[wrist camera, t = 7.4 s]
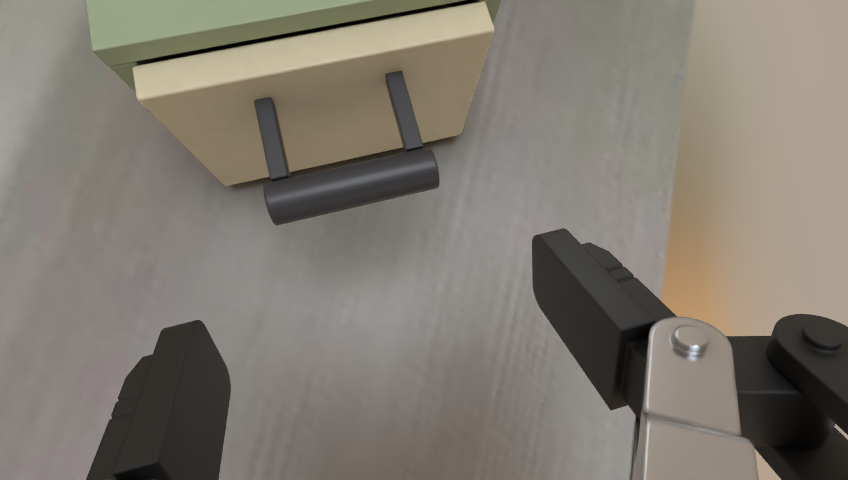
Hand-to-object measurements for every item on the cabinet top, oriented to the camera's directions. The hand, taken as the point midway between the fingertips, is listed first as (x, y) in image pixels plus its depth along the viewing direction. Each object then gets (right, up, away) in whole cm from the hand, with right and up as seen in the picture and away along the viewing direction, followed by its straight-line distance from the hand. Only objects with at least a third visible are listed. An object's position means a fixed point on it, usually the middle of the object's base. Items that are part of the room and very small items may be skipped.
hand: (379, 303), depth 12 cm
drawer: (-4, +10, +12) cm, 16 cm away
